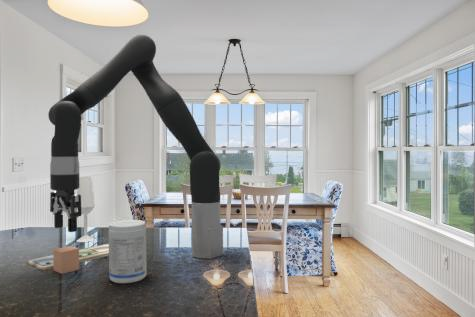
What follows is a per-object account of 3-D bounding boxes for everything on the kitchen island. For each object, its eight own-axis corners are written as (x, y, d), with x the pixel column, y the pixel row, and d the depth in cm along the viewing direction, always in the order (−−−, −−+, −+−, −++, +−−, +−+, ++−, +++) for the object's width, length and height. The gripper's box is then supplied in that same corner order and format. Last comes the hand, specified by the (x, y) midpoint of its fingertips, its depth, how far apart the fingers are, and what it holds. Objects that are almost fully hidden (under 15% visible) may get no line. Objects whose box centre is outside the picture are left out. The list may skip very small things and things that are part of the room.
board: (127, 251, 127) (127, 247, 127) (44, 270, 107) (43, 266, 107) (108, 245, 135) (108, 242, 135) (26, 263, 115) (26, 258, 115)
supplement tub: (113, 273, 104) (113, 219, 104) (149, 271, 105) (148, 219, 105) (105, 285, 95) (104, 226, 95) (143, 283, 96) (143, 225, 96)
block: (79, 269, 108) (78, 248, 108) (61, 274, 104) (61, 252, 104) (70, 266, 111) (70, 245, 111) (53, 270, 108) (53, 249, 107)
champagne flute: (97, 238, 148) (97, 176, 148) (90, 242, 141) (90, 177, 141) (80, 238, 148) (79, 176, 148) (73, 242, 141) (72, 177, 141)
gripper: (90, 173, 106) (90, 231, 106) (66, 171, 115) (67, 224, 115) (63, 174, 100) (63, 235, 100) (40, 172, 109) (41, 228, 110)
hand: (65, 229), depth 108 cm, fingers open, 8 cm apart
